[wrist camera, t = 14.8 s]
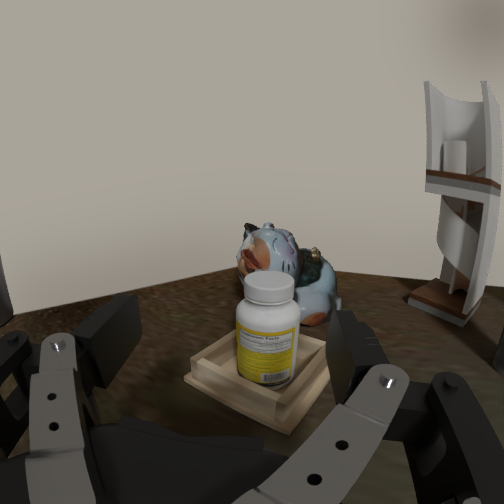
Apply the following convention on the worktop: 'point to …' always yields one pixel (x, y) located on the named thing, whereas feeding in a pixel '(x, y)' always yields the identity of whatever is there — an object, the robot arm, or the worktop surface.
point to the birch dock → (253, 395)
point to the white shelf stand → (462, 199)
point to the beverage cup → (499, 356)
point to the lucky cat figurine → (292, 270)
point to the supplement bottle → (267, 329)
